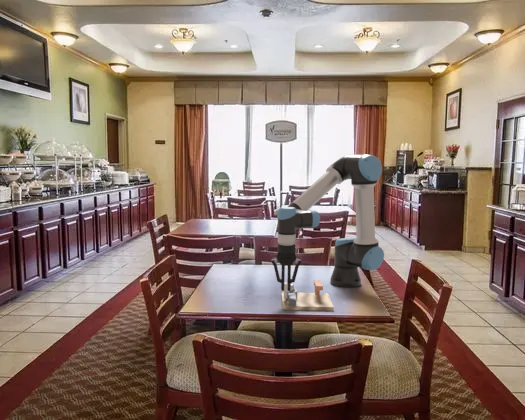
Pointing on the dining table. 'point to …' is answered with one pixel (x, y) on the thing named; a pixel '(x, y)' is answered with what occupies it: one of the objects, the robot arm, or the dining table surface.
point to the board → (309, 302)
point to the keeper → (318, 287)
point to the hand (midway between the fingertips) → (285, 297)
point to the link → (292, 297)
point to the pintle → (291, 287)
